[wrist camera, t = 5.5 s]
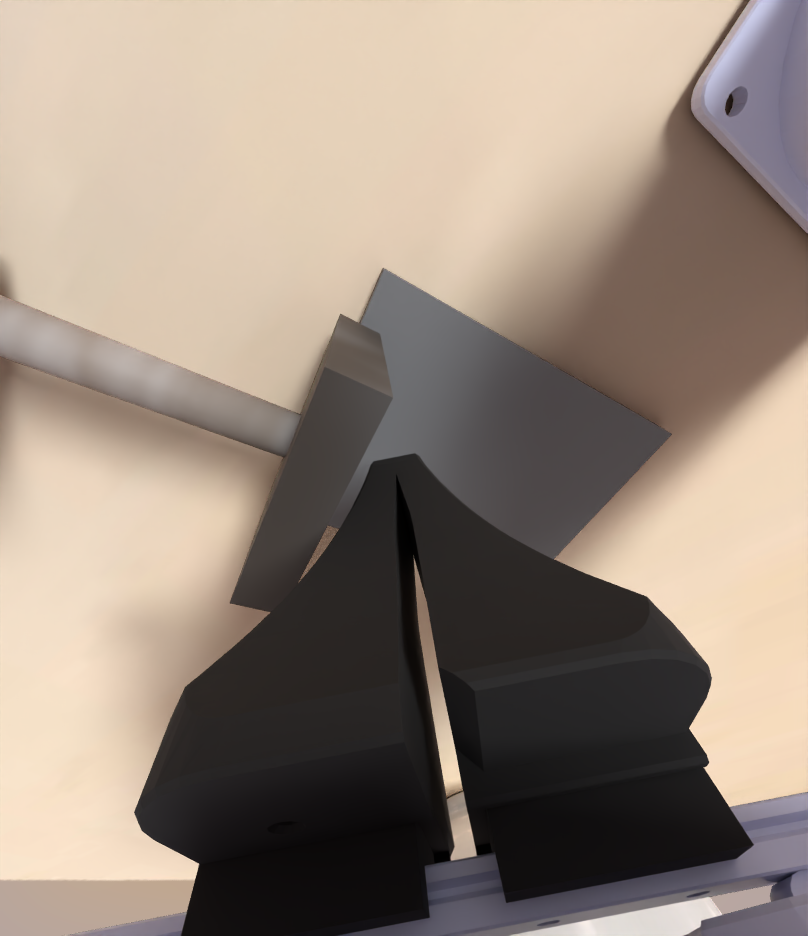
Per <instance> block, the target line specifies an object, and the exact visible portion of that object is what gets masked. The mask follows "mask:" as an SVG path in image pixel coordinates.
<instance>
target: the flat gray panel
mask: <svg viewBox="0 0 808 936" xmlns="http://www.w3.org/2000/svg"><path fill="white" fill-rule="evenodd" d="M360 324H362V325H364V326H365V327H367V328H369V329H371V330H373V331H375V332H377V333H379V334H380V336H381V340H382V345H383V350H384V355H385V360H386V365H387V370H388V375H389V379H390V384H391V389H392V394H393V399H392V401H391V403H390V405H389V407H388V409H387V411H386V413H385V415H384V417H383V419H382V421H381V423H380V424H379V426H378V428H377V430H376V432H375V434H374V436H373V438H372V440H371V442H370V444H369V446H368V448H367V450H366V452H365V454H364V456H363V458H362V459H361V461H360V463H359V465H358V467H357V469H356V471H355V473H354V475H353V477H352V479H351V481H350V483H349V485H348V487H347V489H346V491H345V493H344V494H343V496H342V498H341V500H340V502H339V504H338V506H337V508H336V510H335V512H334V514H333V516H332V518H331V520H330V522H329V524H328V526H332V527H335V528H338V529H340V527H341V525H342V524H343V522H344V520H345V518H346V517H347V515H348V513H349V512H350V510H351V508H352V506H353V504H354V502H355V500H356V498H357V496H358V494H359V492H360V490H361V488H362V486H363V483H364V481H365V479H366V476H367V474H368V471H369V468H370V465H371V464H372V463H373V461H377V460H382V459H387V458H393V457H398V456H403V455H408V454H413V453H416V454H417V455H419V456H420V458H421V459H422V461H423V462H424V463H425V465H426V466H427V467H428V468H429V470H430V471H431V472H432V473H433V474H434V475H435V476H436V477H437V479H438V480H439V481H440V482H441V483H442V484H443V485H444V486H445V487H446V488H447V489H449V490H450V491H451V492H452V493H453V494H454V495H455V496H456V497H457V498H458V499H459V500H461V501H462V502H463V503H464V504H465V505H467V506H468V507H469V508H470V509H471V510H473V511H474V512H475V513H477V514H478V515H479V516H481V517H482V518H483V519H485V520H486V521H488V522H489V523H490V524H492V525H493V526H495V527H496V528H498V529H499V530H501V531H503V532H504V533H506V534H507V535H509V536H511V537H512V538H514V539H516V540H518V541H519V542H521V543H523V544H525V545H527V546H529V547H531V548H532V549H534V550H536V551H538V552H540V553H542V554H544V555H546V556H548V557H550V558H552V559H554V558H555V557H556V556H557V555H558V554H559V553H560V552H561V551H562V550H563V549H564V548H565V547H566V546H567V544H568V543H569V542H570V541H571V540H572V539H573V538H574V537H575V536H576V535H577V534H578V533H579V532H580V531H581V530H582V529H583V528H584V527H585V525H586V524H587V523H588V522H589V521H590V520H591V519H592V518H593V517H594V516H595V515H596V514H597V513H598V512H599V511H600V510H601V509H602V508H603V507H604V505H605V504H606V503H607V502H608V501H609V500H610V499H611V498H612V497H613V496H614V495H615V494H616V493H617V492H618V491H619V490H620V489H621V488H622V486H623V485H624V484H625V483H626V482H627V481H628V480H629V479H630V478H631V477H632V476H633V475H634V474H635V473H636V472H637V471H638V470H639V469H640V467H641V466H642V465H643V464H644V463H645V462H646V461H647V460H648V459H649V458H650V457H651V456H652V455H653V454H654V453H655V452H656V451H657V450H658V449H659V447H660V446H661V445H662V444H663V443H664V442H665V441H666V440H667V439H668V438H669V437H670V436H671V435H672V434H671V433H669V432H668V431H666V430H664V429H663V428H661V427H659V426H658V425H656V424H654V423H653V422H651V421H649V420H647V419H646V418H644V417H642V416H640V415H639V414H637V413H635V412H633V411H632V410H630V409H628V408H626V407H625V406H623V405H621V404H619V403H618V402H616V401H614V400H612V399H611V398H609V397H607V396H606V395H604V394H602V393H600V392H599V391H597V390H595V389H593V388H592V387H590V386H588V385H586V384H585V383H583V382H581V381H579V380H578V379H576V378H574V377H572V376H571V375H569V374H567V373H565V372H564V371H562V370H560V369H558V368H557V367H555V366H553V365H552V364H550V363H548V362H546V361H545V360H543V359H541V358H539V357H538V356H536V355H534V354H532V353H531V352H529V351H527V350H525V349H524V348H522V347H520V346H518V345H517V344H515V343H513V342H511V341H510V340H508V339H506V338H505V337H503V336H501V335H499V334H498V333H496V332H494V331H492V330H491V329H489V328H487V327H485V326H484V325H482V324H480V323H478V322H477V321H475V320H473V319H471V318H470V317H468V316H466V315H464V314H463V313H461V312H459V311H457V310H456V309H454V308H452V307H451V306H449V305H447V304H445V303H444V302H442V301H440V300H438V299H437V298H435V297H433V296H431V295H430V294H428V293H426V292H424V291H423V290H421V289H419V288H417V287H416V286H414V285H412V284H410V283H409V282H407V281H405V280H404V279H402V278H400V277H398V276H397V275H395V274H393V273H391V272H390V271H388V270H386V269H384V268H383V269H382V272H381V274H380V276H379V279H378V281H377V283H376V286H375V288H374V290H373V293H372V295H371V298H370V300H369V302H368V305H367V307H366V309H365V312H364V314H363V316H362V319H361V321H360Z"/></svg>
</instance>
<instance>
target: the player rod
mask: <svg viewBox="0 0 808 936" xmlns="http://www.w3.org/2000/svg"><path fill="white" fill-rule="evenodd" d="M0 357H3V358H5V359H8V360H11V361H14V362H17V363H20V364H22V365H25V366H28V367H31V368H34V369H36V370H39V371H42V372H45V373H48V374H50V375H53V376H56V377H59V378H62V379H65V380H67V381H70V382H73V383H76V384H79V385H81V386H84V387H87V388H90V389H93V390H96V391H98V392H101V393H104V394H107V395H110V396H112V397H115V398H118V399H121V400H124V401H126V402H129V403H132V404H135V405H138V406H141V407H143V408H146V409H149V410H152V411H155V412H157V413H160V414H163V415H166V416H169V417H172V418H174V419H177V420H180V421H183V422H186V423H188V424H191V425H194V426H197V427H200V428H203V429H205V430H208V431H211V432H214V433H217V434H219V435H222V436H225V437H228V438H231V439H233V440H236V441H239V442H242V443H245V444H248V445H250V446H253V447H256V448H259V449H262V450H264V451H267V452H270V453H273V454H276V455H279V456H281V457H284V458H283V460H282V463H281V465H280V468H279V470H278V473H277V476H276V478H275V481H274V483H273V486H272V489H271V491H270V494H269V497H268V500H267V502H266V505H265V508H264V511H263V513H262V516H261V519H260V522H259V524H258V527H257V530H256V533H255V535H254V538H253V541H252V543H251V546H250V549H249V552H248V554H247V557H246V560H245V563H244V565H243V568H242V571H241V574H240V576H239V579H238V582H237V584H236V587H235V590H234V593H233V595H232V598H231V601H230V603H231V604H236V605H240V606H245V607H250V608H254V609H259V610H264V611H268V612H272V611H273V610H274V609H275V608H276V607H277V606H278V605H279V604H280V603H281V602H282V601H283V600H284V599H285V598H286V597H287V595H288V594H289V593H290V592H291V591H292V590H293V589H294V588H295V587H296V585H297V584H298V582H299V580H300V578H301V576H302V574H303V572H304V570H305V568H306V566H307V564H308V563H309V561H310V559H311V557H312V555H313V553H314V551H315V549H316V547H317V545H318V543H319V541H320V539H321V537H322V535H323V533H324V531H325V529H326V528H327V526H328V524H329V522H330V520H331V518H332V516H333V514H334V512H335V510H336V508H337V506H338V504H339V502H340V500H341V498H342V496H343V494H344V493H345V491H346V489H347V487H348V485H349V483H350V481H351V479H352V477H353V475H354V473H355V471H356V469H357V467H358V465H359V463H360V461H361V459H362V458H363V456H364V454H365V452H366V450H367V448H368V446H369V444H370V442H371V440H372V438H373V436H374V434H375V432H376V430H377V428H378V426H379V424H380V423H381V421H382V419H383V417H384V415H385V413H386V411H387V409H388V407H389V405H390V403H391V401H392V399H393V394H392V389H391V384H390V379H389V375H388V370H387V365H386V360H385V355H384V350H383V345H382V340H381V336H380V334H379V333H377V332H375V331H373V330H371V329H369V328H367V327H365V326H364V325H362V324H360V323H358V322H356V321H354V320H352V319H350V318H348V317H346V316H344V315H342V314H340V316H339V319H338V321H337V324H336V326H335V329H334V331H333V334H332V336H331V339H330V341H329V344H328V346H327V349H326V352H325V354H324V357H323V359H322V362H321V364H320V367H319V369H318V372H317V374H316V377H315V379H314V382H313V384H312V387H311V389H310V392H309V395H308V397H307V400H306V402H305V405H304V407H303V410H302V412H301V415H300V414H297V413H295V412H292V411H290V410H287V409H285V408H282V407H280V406H277V405H275V404H272V403H270V402H267V401H265V400H262V399H260V398H257V397H255V396H252V395H250V394H247V393H245V392H242V391H240V390H237V389H235V388H232V387H230V386H227V385H225V384H222V383H220V382H217V381H215V380H212V379H210V378H207V377H205V376H202V375H200V374H197V373H195V372H192V371H190V370H187V369H185V368H182V367H180V366H177V365H175V364H172V363H170V362H167V361H165V360H162V359H160V358H157V357H155V356H152V355H150V354H147V353H145V352H142V351H140V350H137V349H135V348H132V347H130V346H127V345H125V344H122V343H120V342H117V341H115V340H112V339H110V338H107V337H105V336H102V335H100V334H97V333H94V332H92V331H89V330H87V329H84V328H82V327H79V326H77V325H74V324H72V323H69V322H67V321H64V320H62V319H59V318H57V317H54V316H52V315H49V314H47V313H44V312H42V311H39V310H37V309H34V308H32V307H29V306H27V305H24V304H22V303H19V302H17V301H14V300H12V299H9V298H7V297H4V296H2V295H0Z"/></svg>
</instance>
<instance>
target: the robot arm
mask: <svg viewBox="0 0 808 936" xmlns="http://www.w3.org/2000/svg"><path fill="white" fill-rule="evenodd" d="M730 93H731V94H732V96H733V99H734V100H733V107H732V109H731V111H730V113H729V115H728V116H727V114H726V111H725V105H726V101H727V99H728V97H729V95H730ZM691 110H692V112H693V114H694V116H695V118H696V119H697V120H698V121H699V122H700V123H701V124H702V125H703V126H704V127H705V128H706V129H707V130H708V131H709V132H710V133H711V134H712V135H713V136H714V137H715V139H716V140H717V141H718V142H719V143H720V144H721V145H722V146H723V147H724V148H725V149H726V150H727V151H728V152H729V153H730V154H731V155H732V156H733V157H734V158H735V159H736V160H737V161H738V162H739V163H740V164H741V165H742V166H743V167H744V169H745V170H746V171H747V172H748V173H749V174H750V175H751V176H752V177H753V178H754V179H755V180H756V181H757V182H758V183H759V184H760V185H761V186H762V187H763V188H764V189H765V190H766V191H767V192H768V193H769V194H770V195H771V196H772V198H773V199H774V200H775V201H776V202H777V203H778V204H779V205H780V206H781V207H782V208H783V209H784V210H785V211H786V212H787V213H788V214H789V215H790V216H791V217H792V218H793V219H794V220H795V221H796V222H797V223H798V224H799V225H800V227H801V228H802V229H803V230H804V231H805V232H806V233H807V234H808V0H750V1H749V3H748V4H747V6H746V7H745V9H744V10H743V12H742V13H741V15H740V16H739V18H738V19H737V21H736V23H735V24H734V26H733V27H732V29H731V30H730V32H729V33H728V35H727V36H726V38H725V39H724V41H723V42H722V44H721V46H720V47H719V49H718V50H717V52H716V53H715V55H714V56H713V58H712V59H711V61H710V62H709V64H708V66H707V67H706V69H705V70H704V72H703V73H702V75H701V76H700V78H699V80H698V82H697V84H696V86H695V88H694V90H693V94H692V98H691ZM413 555H414V557H413ZM414 559H415V562H416V566H417V569H418V573H419V576H420V580H421V583H422V587H423V590H424V594H425V597H426V601H427V605H428V611H429V616H430V622H431V628H432V634H433V640H434V645H435V651H436V657H437V663H438V668H439V673H440V678H441V683H442V687H443V692H444V697H445V702H446V706H447V711H448V716H449V721H450V725H451V730H452V735H453V740H454V744H455V749H456V755H457V760H458V765H459V771H460V776H461V781H462V787H463V792H464V798H465V803H466V808H467V813H468V816H469V821H470V825H471V830H472V834H473V839H474V844H475V849H476V854H477V856H473V857H468V858H463V859H458V860H452V861H451V855H452V852H453V850H454V847H455V845H454V839H453V834H452V828H451V822H450V816H449V810H448V804H447V798H446V792H445V787H444V781H443V775H442V769H441V763H440V757H439V751H438V745H437V739H436V733H435V727H434V721H433V715H432V709H431V703H430V697H429V690H428V684H427V678H426V672H425V666H424V660H423V653H422V647H421V641H420V635H419V626H418V616H417V601H416V586H415V571H414ZM711 679H712V677H711V673H710V670H709V666H708V665H707V663H706V662H705V661H704V660H703V659H702V657H701V656H700V655H699V654H698V652H697V651H696V650H695V649H694V648H693V646H692V645H691V644H690V643H689V642H688V640H687V639H686V638H685V637H684V635H683V634H682V633H681V632H680V631H679V630H678V629H677V627H676V626H675V625H674V624H673V623H672V622H671V621H670V620H669V619H668V618H667V617H666V616H665V615H664V614H663V613H662V612H661V611H660V610H659V609H658V608H657V607H656V606H655V605H654V604H653V603H652V602H651V601H650V599H649V598H648V597H646V596H644V595H641V594H638V593H636V592H633V591H630V590H628V589H625V588H622V587H620V586H617V585H614V584H612V583H609V582H606V581H604V580H601V579H599V578H596V577H593V576H591V575H588V574H585V573H583V572H581V571H578V570H576V569H574V568H572V567H569V566H567V565H565V564H563V563H561V562H558V561H556V560H554V559H552V558H550V557H548V556H546V555H544V554H542V553H540V552H538V551H536V550H534V549H532V548H531V547H529V546H527V545H525V544H523V543H521V542H519V541H518V540H516V539H514V538H512V537H511V536H509V535H507V534H506V533H504V532H503V531H501V530H499V529H498V528H496V527H495V526H493V525H492V524H490V523H489V522H488V521H486V520H485V519H483V518H482V517H481V516H479V515H478V514H477V513H475V512H474V511H473V510H471V509H470V508H469V507H468V506H467V505H465V504H464V503H463V502H462V501H461V500H459V499H458V498H457V497H456V496H455V495H454V494H453V493H452V492H451V491H450V490H449V489H447V488H446V487H445V486H444V485H443V484H442V483H441V482H440V481H439V480H438V479H437V477H436V476H435V475H434V474H433V473H432V472H431V471H430V470H429V468H428V467H427V466H426V465H425V463H424V462H423V461H422V459H421V458H420V456H419V455H417V454H416V453H413V454H408V455H403V456H398V457H393V458H387V459H382V460H377V461H373V463H372V464H371V465H370V468H369V471H368V474H367V476H366V479H365V481H364V483H363V486H362V488H361V490H360V492H359V494H358V496H357V498H356V500H355V502H354V504H353V506H352V508H351V510H350V512H349V513H348V515H347V517H346V518H345V520H344V522H343V524H342V525H341V527H340V529H339V530H338V532H337V533H336V535H335V537H334V538H333V540H332V541H331V543H330V544H329V545H328V547H327V548H326V550H325V551H324V552H323V554H322V555H321V556H320V558H319V559H318V560H317V562H316V563H315V564H314V565H313V567H312V568H311V569H310V570H309V572H308V573H307V574H306V575H305V576H304V577H303V579H302V580H301V581H300V582H299V583H298V584H297V585H296V587H295V588H294V589H293V590H292V591H291V592H290V593H289V594H288V595H287V597H286V598H285V599H284V600H283V601H282V602H281V603H280V604H279V605H278V606H277V607H276V608H275V609H274V610H273V611H272V612H271V613H270V614H269V615H268V616H267V617H266V618H264V619H263V620H262V621H261V622H260V623H259V624H258V625H257V626H256V627H255V628H254V629H253V630H252V631H251V632H250V633H249V634H247V635H246V636H245V637H244V638H243V639H242V640H241V641H240V642H239V643H237V644H236V645H235V646H234V647H233V648H231V649H230V650H229V651H228V652H227V653H226V654H224V655H223V656H222V657H221V658H220V659H218V660H217V661H216V662H215V663H214V664H213V665H211V666H210V667H209V668H208V669H207V670H205V671H204V672H203V673H202V674H201V675H200V676H198V677H197V678H196V679H195V680H193V681H192V682H191V683H190V684H188V685H187V686H186V687H185V689H184V691H183V693H182V695H181V697H180V700H179V702H178V704H177V706H176V708H175V710H174V713H173V715H172V717H171V719H170V722H169V724H168V727H167V729H166V732H165V735H164V737H163V740H162V742H161V745H160V747H159V750H158V753H157V755H156V758H155V760H154V763H153V766H152V768H151V771H150V773H149V776H148V778H147V781H146V784H145V786H144V789H143V791H142V794H141V796H140V799H139V801H138V804H137V807H136V809H135V812H134V813H135V816H136V818H137V821H138V823H139V825H140V828H141V830H142V831H143V832H144V833H145V834H147V835H148V836H149V837H151V838H152V839H153V840H155V841H157V842H159V843H161V844H163V845H165V846H166V847H168V848H170V849H172V850H174V851H176V852H178V853H180V854H182V855H184V856H186V857H187V858H189V859H191V860H193V861H195V862H197V863H199V868H198V871H197V875H196V879H195V883H194V887H193V891H192V894H191V898H190V902H189V906H188V910H187V912H183V913H178V914H173V915H168V916H163V917H157V918H153V919H147V920H142V921H137V922H131V923H126V924H121V925H116V926H111V927H105V928H101V929H95V930H90V931H85V932H80V933H75V934H70V935H64V936H509V935H514V934H519V933H525V932H530V931H535V930H540V929H545V928H551V927H556V926H561V925H566V924H571V923H577V922H582V921H587V920H592V919H597V918H603V917H608V916H613V915H618V914H623V913H628V912H634V911H639V910H644V909H649V908H654V907H660V906H665V905H670V904H675V903H680V902H686V901H691V900H696V899H701V898H706V897H712V896H717V895H722V894H727V893H732V892H737V891H743V890H748V889H753V888H758V887H763V886H769V885H773V886H772V889H771V893H770V899H771V902H769V903H766V904H762V905H758V906H754V907H751V908H747V909H743V910H739V911H735V912H731V913H728V914H724V915H720V916H716V917H712V918H709V919H705V920H702V921H701V926H700V927H699V928H697V929H696V930H694V931H692V932H690V933H689V934H686V935H684V936H808V792H805V793H799V794H794V795H789V796H784V797H779V798H774V799H768V800H763V801H758V802H753V803H748V804H742V805H737V806H732V807H729V806H728V804H727V803H726V801H725V800H724V798H723V797H722V795H721V794H720V792H719V790H718V789H717V787H716V786H715V784H714V783H713V781H712V780H711V778H710V777H709V775H708V774H707V772H706V771H705V769H704V768H703V767H706V766H707V765H708V764H709V761H708V758H707V755H706V753H705V752H704V750H703V749H702V747H701V746H700V744H699V743H698V741H697V740H696V738H695V737H694V735H693V734H692V732H691V731H690V729H689V727H690V725H691V724H692V722H693V720H694V719H695V717H696V715H697V713H698V712H699V710H700V708H701V706H702V705H703V703H704V701H705V700H706V698H707V695H708V692H709V689H710V686H711ZM774 884H775V885H774Z"/></svg>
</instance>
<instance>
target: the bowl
mask: <svg viewBox="0 0 808 936" xmlns="http://www.w3.org/2000/svg"><path fill="white" fill-rule="evenodd" d="M447 804H448V810H449V816H450V822H451V828H452V834H453V839H454V845H455V847H454V850H453V852H452V855H451V861H452V860H458V859H463V858H468V857H473V856H477V854H476V849H475V844H474V839H473V834H472V830H471V825H470V821H469V816H468V813H467V808H466V803H465V798H464V792H460V793H458V794H456V795H453V796H451V797H450V798H448V799H447ZM720 915H722V913H721V912H720V911H719V910H718V908H717V906H716V905H715V904H714V902H713V901H712V900H711V898H710V897H706V898H701V899H696V900H691V901H686V902H680V903H675V904H670V905H665V906H660V907H654V908H649V909H644V910H639V911H634V912H628V913H623V914H618V915H613V916H608V917H603V918H597V919H592V920H587V921H582V922H577V923H571V924H566V925H561V926H556V927H551V928H545V929H540V930H535V931H530V932H525V933H519V934H514V935H509V936H684V935H686V934H689V933H690V932H692V931H694V930H696V929H697V928H699V927H700V926H701V921H702V920H705V919H709V918H712V917H716V916H720Z"/></svg>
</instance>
